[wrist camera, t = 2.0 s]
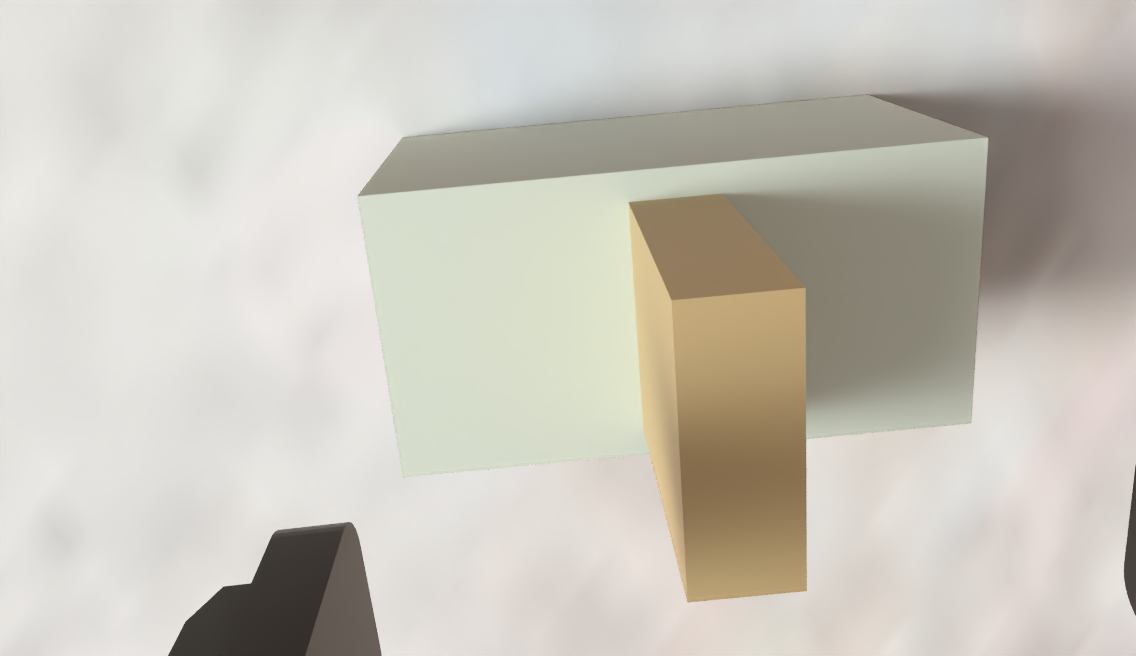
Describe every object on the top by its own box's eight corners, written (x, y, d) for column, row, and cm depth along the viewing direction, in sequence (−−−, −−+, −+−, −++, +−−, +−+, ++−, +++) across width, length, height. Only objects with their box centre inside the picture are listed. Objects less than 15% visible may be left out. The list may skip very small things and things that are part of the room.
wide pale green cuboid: (865, 94, 21) (1188, 208, 11) (862, 312, 23) (1137, 591, 12) (403, 136, 21) (282, 293, 11) (434, 352, 23) (355, 667, 12)
